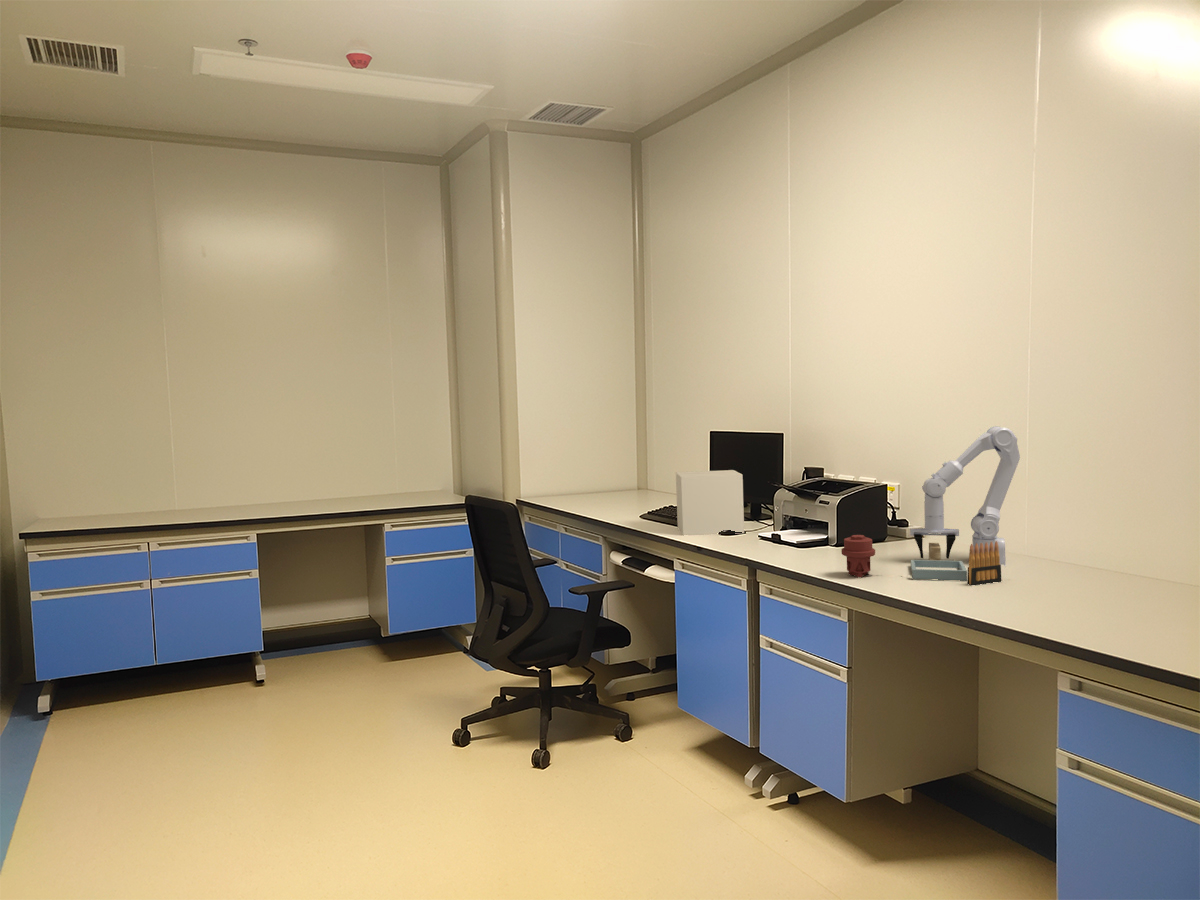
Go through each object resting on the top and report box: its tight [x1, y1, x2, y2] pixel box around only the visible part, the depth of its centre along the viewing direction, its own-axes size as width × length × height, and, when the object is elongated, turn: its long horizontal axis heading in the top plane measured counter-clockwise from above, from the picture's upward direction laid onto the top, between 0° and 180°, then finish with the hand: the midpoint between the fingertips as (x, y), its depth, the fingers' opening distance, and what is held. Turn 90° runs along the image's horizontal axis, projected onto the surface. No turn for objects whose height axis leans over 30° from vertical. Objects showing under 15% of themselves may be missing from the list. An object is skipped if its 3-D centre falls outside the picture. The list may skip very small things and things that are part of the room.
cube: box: [675, 469, 745, 537], centre depth 360 cm, size 25×21×24 cm
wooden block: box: [928, 542, 942, 560], centre depth 275 cm, size 3×9×6 cm, turn 162°
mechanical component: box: [840, 534, 876, 578], centre depth 265 cm, size 12×10×10 cm
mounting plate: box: [913, 558, 955, 561], centre depth 275 cm, size 12×10×1 cm
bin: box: [910, 559, 968, 582], centre depth 261 cm, size 15×15×3 cm
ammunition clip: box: [966, 541, 1002, 586], centre depth 248 cm, size 11×2×12 cm, turn 108°
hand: (934, 557), depth 275 cm, fingers open, 7 cm apart
